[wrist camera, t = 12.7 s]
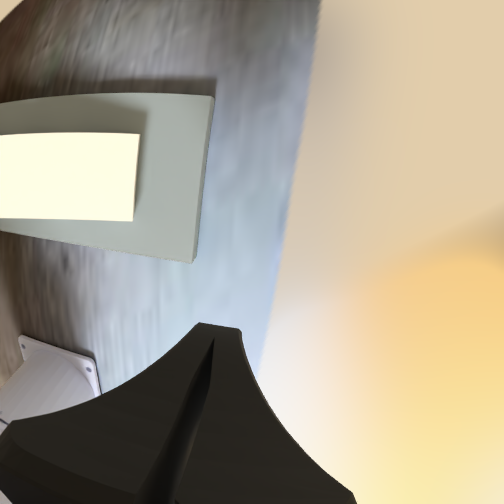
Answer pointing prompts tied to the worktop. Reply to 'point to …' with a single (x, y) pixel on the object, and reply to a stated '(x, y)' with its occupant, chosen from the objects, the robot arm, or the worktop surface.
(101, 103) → the board
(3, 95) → the worktop surface
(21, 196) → the head domino
